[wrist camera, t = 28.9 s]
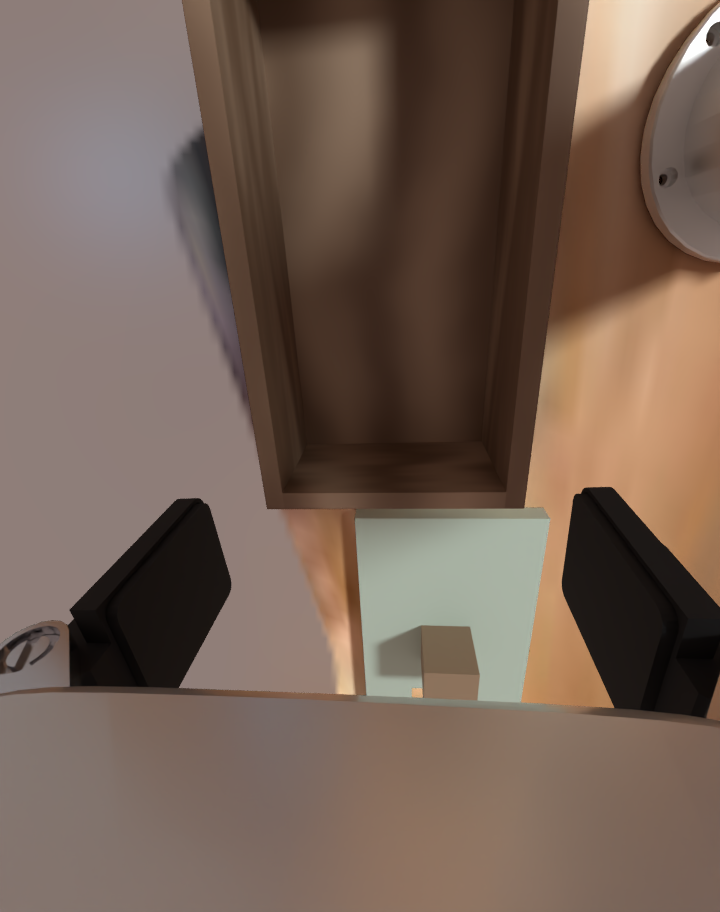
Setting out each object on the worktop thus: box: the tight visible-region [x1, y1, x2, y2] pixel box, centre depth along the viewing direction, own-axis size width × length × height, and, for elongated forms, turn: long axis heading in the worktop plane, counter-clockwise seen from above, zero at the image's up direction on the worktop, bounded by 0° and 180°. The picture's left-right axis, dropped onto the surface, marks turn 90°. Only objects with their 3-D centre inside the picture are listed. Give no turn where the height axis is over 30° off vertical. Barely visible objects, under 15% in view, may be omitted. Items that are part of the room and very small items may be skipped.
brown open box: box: [182, 0, 589, 509], centre depth 21 cm, size 14×26×8 cm, turn 3°
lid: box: [355, 508, 550, 703], centre depth 34 cm, size 14×26×6 cm, turn 3°
